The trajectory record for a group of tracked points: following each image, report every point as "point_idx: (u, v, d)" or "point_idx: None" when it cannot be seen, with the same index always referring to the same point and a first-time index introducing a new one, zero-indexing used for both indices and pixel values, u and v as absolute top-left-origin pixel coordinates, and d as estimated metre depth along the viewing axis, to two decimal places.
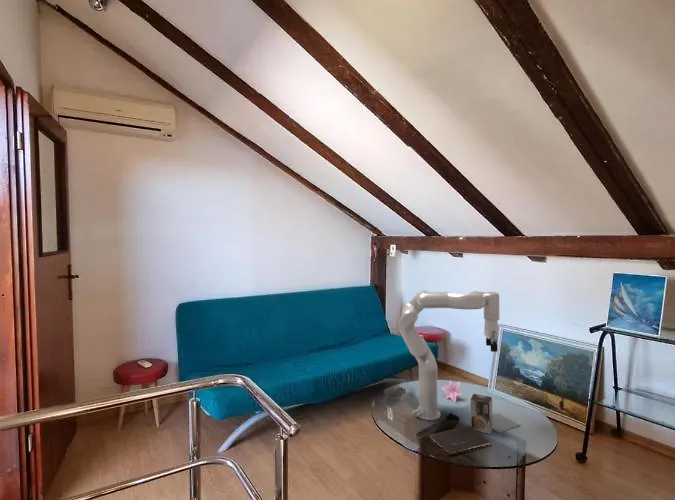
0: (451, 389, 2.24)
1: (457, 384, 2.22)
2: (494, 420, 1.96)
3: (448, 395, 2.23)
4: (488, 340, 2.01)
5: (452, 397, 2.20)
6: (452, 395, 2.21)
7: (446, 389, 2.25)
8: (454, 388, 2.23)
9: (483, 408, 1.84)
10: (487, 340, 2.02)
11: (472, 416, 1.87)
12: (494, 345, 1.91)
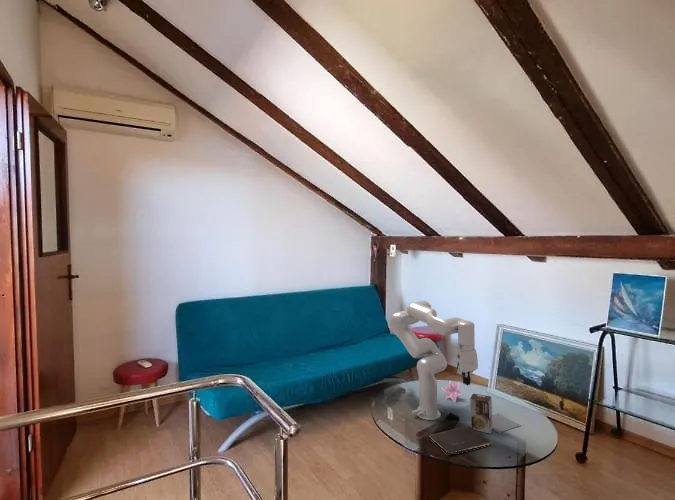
0: (451, 389, 2.24)
1: (457, 384, 2.22)
2: (494, 420, 1.96)
3: (448, 395, 2.22)
4: None
5: (452, 397, 2.20)
6: (452, 395, 2.21)
7: (446, 389, 2.24)
8: (454, 388, 2.23)
9: (482, 407, 1.84)
10: None
11: (472, 416, 1.88)
12: None
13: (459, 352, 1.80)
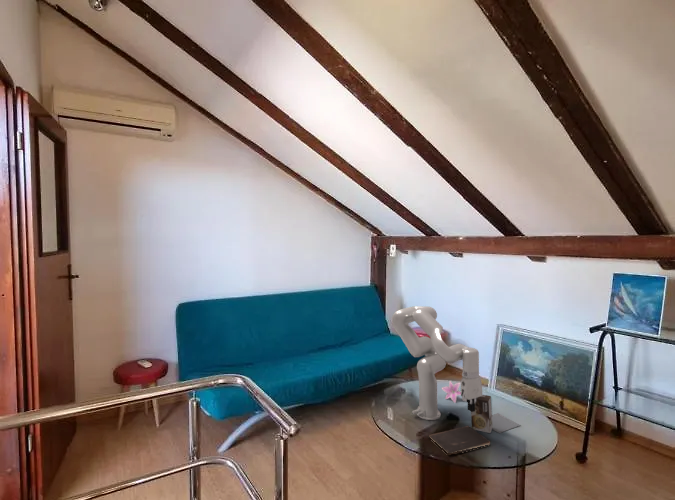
0: (451, 389, 2.24)
1: (457, 384, 2.22)
2: (494, 420, 1.96)
3: (448, 395, 2.22)
4: None
5: (452, 397, 2.19)
6: (453, 395, 2.20)
7: (446, 389, 2.24)
8: (454, 388, 2.22)
9: (482, 406, 1.85)
10: None
11: (472, 415, 1.88)
12: None
13: (464, 379, 1.82)
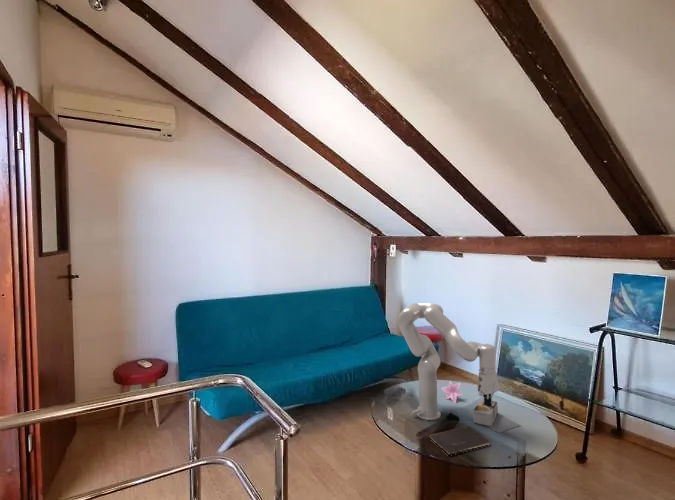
0: (451, 389, 2.23)
1: (457, 384, 2.21)
2: (494, 420, 1.96)
3: (448, 395, 2.22)
4: None
5: (452, 397, 2.19)
6: (453, 396, 2.20)
7: (446, 390, 2.24)
8: (454, 388, 2.22)
9: None
10: None
11: (477, 405, 1.99)
12: None
13: (481, 375, 1.87)
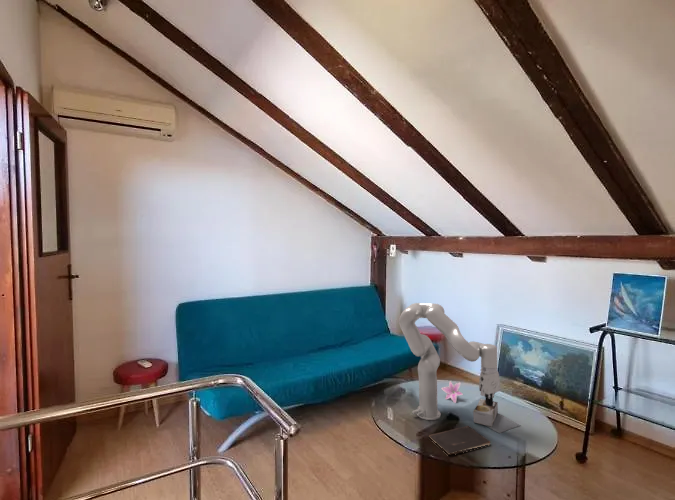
0: (451, 390, 2.23)
1: (457, 384, 2.21)
2: (494, 420, 1.96)
3: (448, 396, 2.22)
4: None
5: (452, 398, 2.19)
6: (453, 396, 2.20)
7: (447, 390, 2.24)
8: (454, 389, 2.22)
9: None
10: None
11: (477, 405, 1.99)
12: None
13: (482, 375, 1.87)
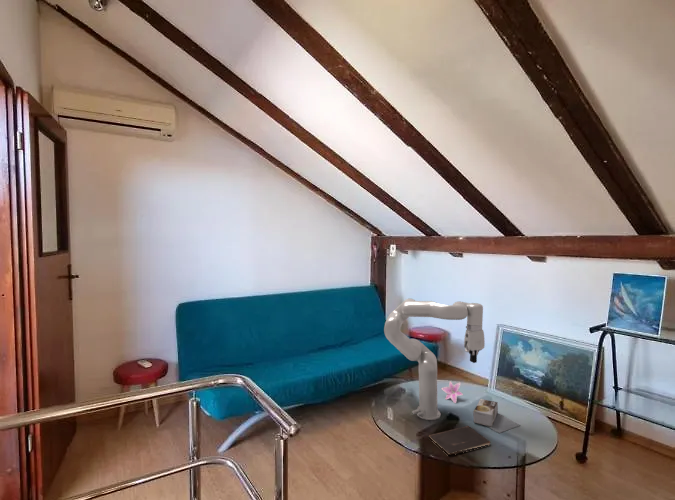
0: (451, 390, 2.23)
1: (457, 384, 2.21)
2: (494, 420, 1.96)
3: (448, 396, 2.22)
4: None
5: (452, 398, 2.19)
6: (453, 396, 2.20)
7: (447, 390, 2.24)
8: (454, 389, 2.22)
9: (490, 403, 2.01)
10: None
11: (477, 405, 1.99)
12: None
13: (467, 332, 1.94)
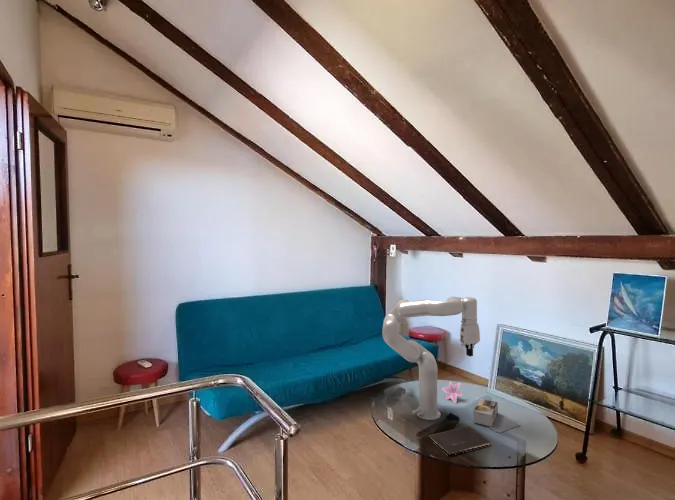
0: (451, 390, 2.23)
1: (458, 385, 2.21)
2: (494, 420, 1.96)
3: (448, 396, 2.21)
4: None
5: (452, 398, 2.19)
6: (453, 396, 2.20)
7: (447, 390, 2.23)
8: (454, 389, 2.22)
9: (490, 403, 2.01)
10: None
11: (477, 405, 1.99)
12: None
13: (463, 326, 1.96)
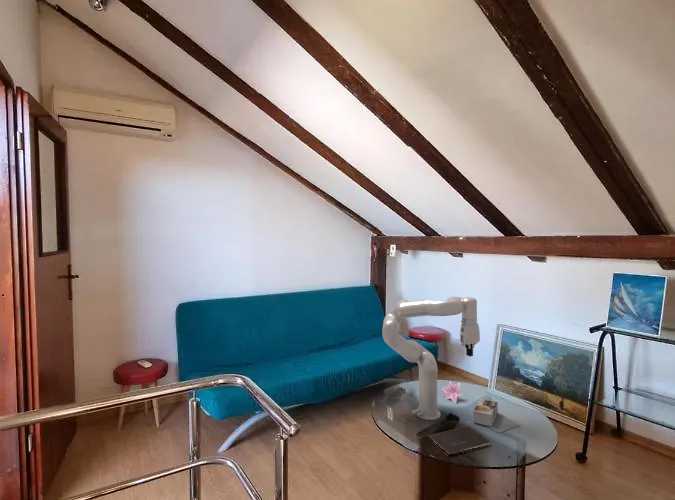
0: (451, 390, 2.23)
1: (458, 385, 2.21)
2: (494, 420, 1.96)
3: (448, 396, 2.21)
4: None
5: (452, 398, 2.19)
6: (453, 396, 2.20)
7: (447, 390, 2.23)
8: (454, 389, 2.22)
9: (490, 403, 2.01)
10: None
11: (477, 405, 1.99)
12: None
13: (463, 326, 1.96)
